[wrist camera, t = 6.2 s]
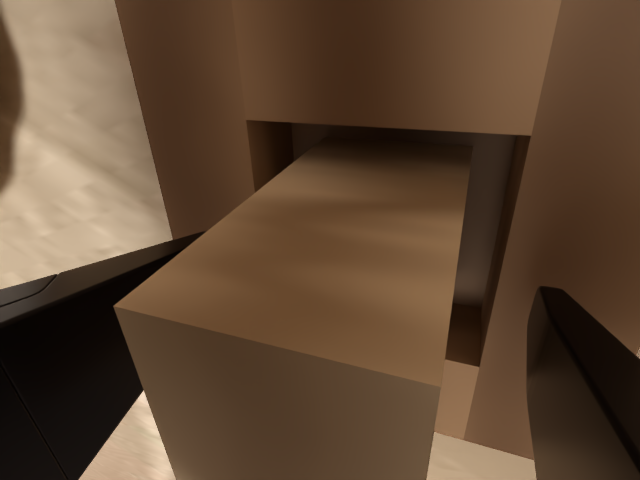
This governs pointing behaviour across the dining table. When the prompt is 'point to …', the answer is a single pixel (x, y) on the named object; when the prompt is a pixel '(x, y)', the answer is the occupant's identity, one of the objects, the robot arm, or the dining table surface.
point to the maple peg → (309, 320)
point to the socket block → (423, 127)
